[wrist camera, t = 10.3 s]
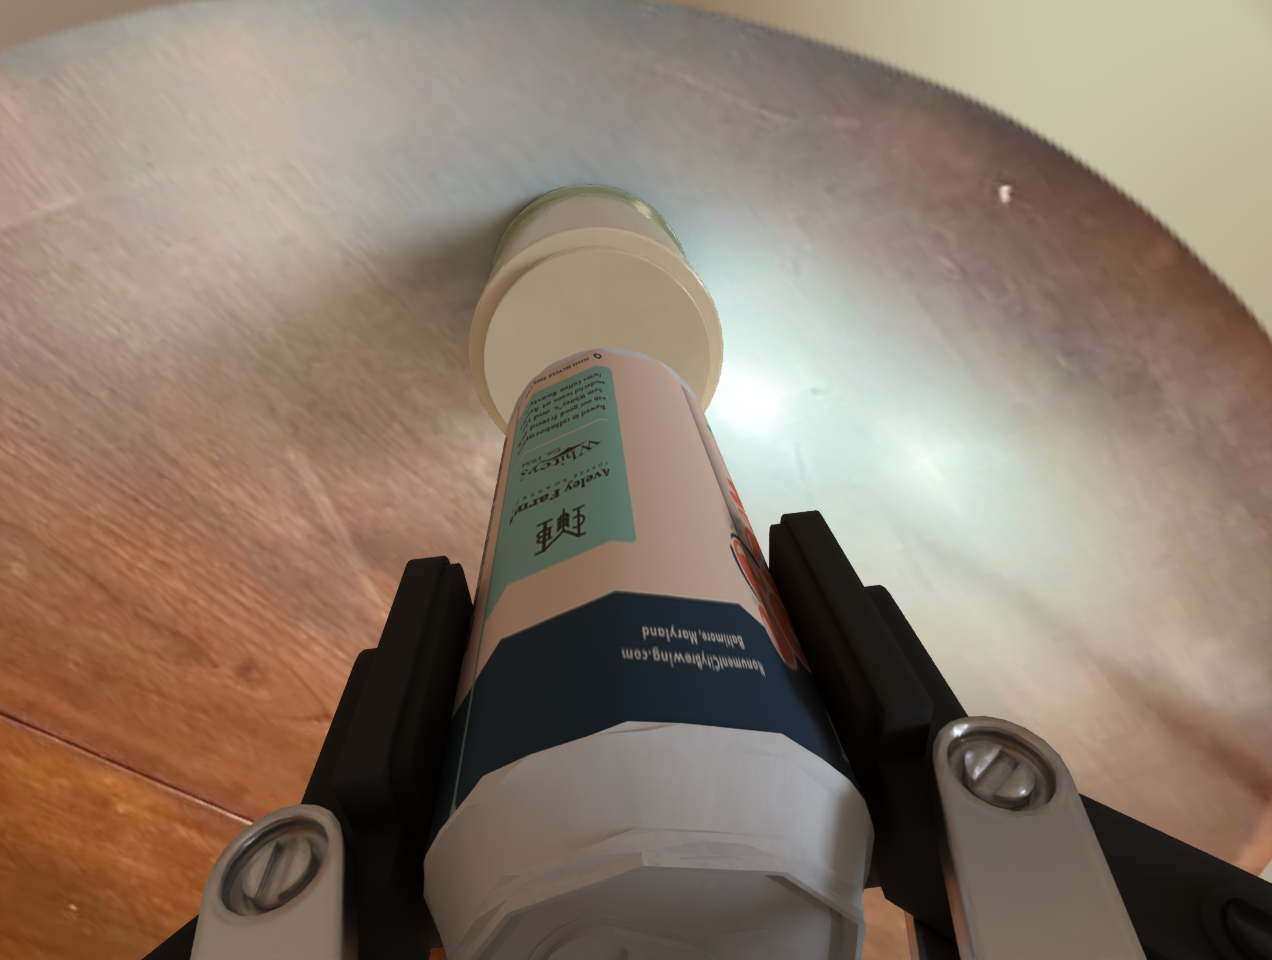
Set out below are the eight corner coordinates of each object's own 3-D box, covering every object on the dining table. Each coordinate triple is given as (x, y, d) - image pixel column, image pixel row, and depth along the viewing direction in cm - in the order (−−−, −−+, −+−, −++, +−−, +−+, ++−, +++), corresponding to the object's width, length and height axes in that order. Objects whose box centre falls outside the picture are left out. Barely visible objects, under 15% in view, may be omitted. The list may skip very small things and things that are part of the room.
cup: (590, 135, 26) (600, 153, 18) (727, 291, 30) (787, 368, 21) (449, 288, 29) (400, 367, 20) (591, 417, 32) (597, 529, 24)
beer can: (641, 541, 18) (731, 1118, 8) (476, 471, 17) (327, 1065, 7) (739, 396, 17) (1022, 904, 6) (564, 303, 15) (549, 763, 5)
